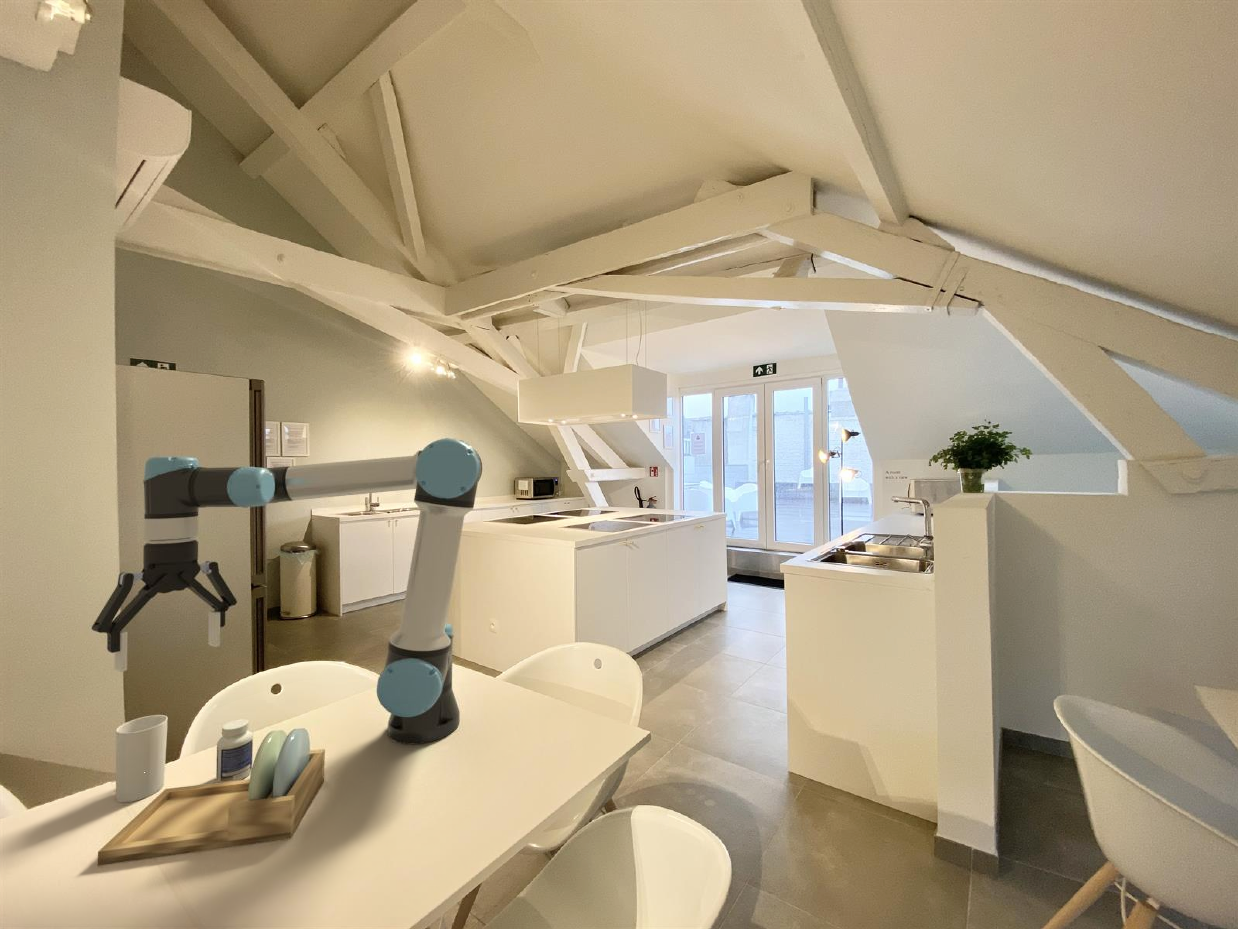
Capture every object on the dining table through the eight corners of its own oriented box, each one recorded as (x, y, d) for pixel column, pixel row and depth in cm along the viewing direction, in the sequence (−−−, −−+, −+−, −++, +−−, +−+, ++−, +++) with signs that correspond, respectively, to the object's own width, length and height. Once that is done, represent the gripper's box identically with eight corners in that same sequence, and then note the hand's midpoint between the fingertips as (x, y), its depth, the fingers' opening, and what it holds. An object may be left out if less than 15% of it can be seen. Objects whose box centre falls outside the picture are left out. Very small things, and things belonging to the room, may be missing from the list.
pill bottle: (258, 771, 96) (260, 720, 97) (229, 787, 91) (230, 733, 91) (239, 766, 98) (240, 715, 98) (209, 781, 93) (210, 728, 93)
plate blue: (309, 782, 91) (310, 715, 91) (280, 827, 80) (282, 751, 80) (301, 783, 91) (303, 716, 91) (272, 829, 79) (273, 751, 80)
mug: (151, 800, 88) (153, 730, 88) (103, 807, 86) (105, 735, 86) (183, 768, 97) (185, 705, 98) (141, 773, 95) (143, 709, 96)
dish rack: (324, 781, 93) (324, 749, 93) (290, 838, 78) (291, 800, 79) (165, 800, 87) (166, 765, 88) (97, 865, 73) (98, 823, 73)
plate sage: (288, 785, 90) (289, 717, 91) (256, 831, 79) (257, 753, 79) (280, 786, 90) (282, 718, 90) (247, 832, 78) (249, 754, 79)
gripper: (237, 532, 105) (236, 634, 105) (66, 548, 83) (64, 677, 83) (257, 534, 102) (256, 639, 101) (84, 551, 80) (82, 686, 79)
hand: (170, 657), depth 92 cm, fingers open, 13 cm apart
